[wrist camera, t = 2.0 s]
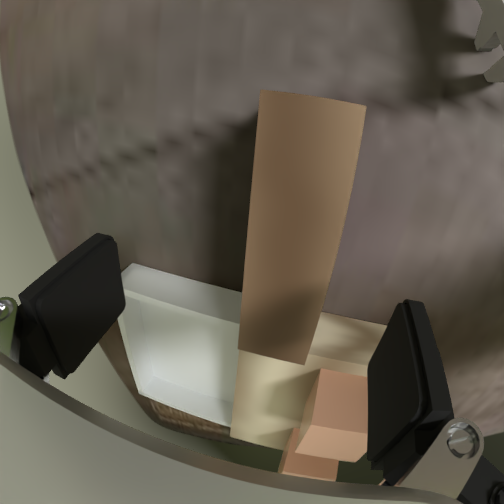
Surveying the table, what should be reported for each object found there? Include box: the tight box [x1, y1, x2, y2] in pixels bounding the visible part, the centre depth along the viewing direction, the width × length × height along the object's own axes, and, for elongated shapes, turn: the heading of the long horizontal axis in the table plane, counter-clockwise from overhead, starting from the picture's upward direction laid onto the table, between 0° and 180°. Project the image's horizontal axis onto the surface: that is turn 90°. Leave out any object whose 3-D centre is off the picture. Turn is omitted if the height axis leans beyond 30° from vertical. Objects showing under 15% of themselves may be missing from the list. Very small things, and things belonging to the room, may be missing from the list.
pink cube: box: [295, 368, 368, 462], centre depth 16 cm, size 4×4×4 cm
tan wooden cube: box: [278, 428, 339, 482], centre depth 20 cm, size 4×4×4 cm
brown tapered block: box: [238, 90, 366, 365], centre depth 14 cm, size 4×12×6 cm, turn 174°
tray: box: [118, 263, 242, 427], centre depth 24 cm, size 10×14×3 cm
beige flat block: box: [230, 312, 387, 462], centre depth 21 cm, size 12×14×4 cm
